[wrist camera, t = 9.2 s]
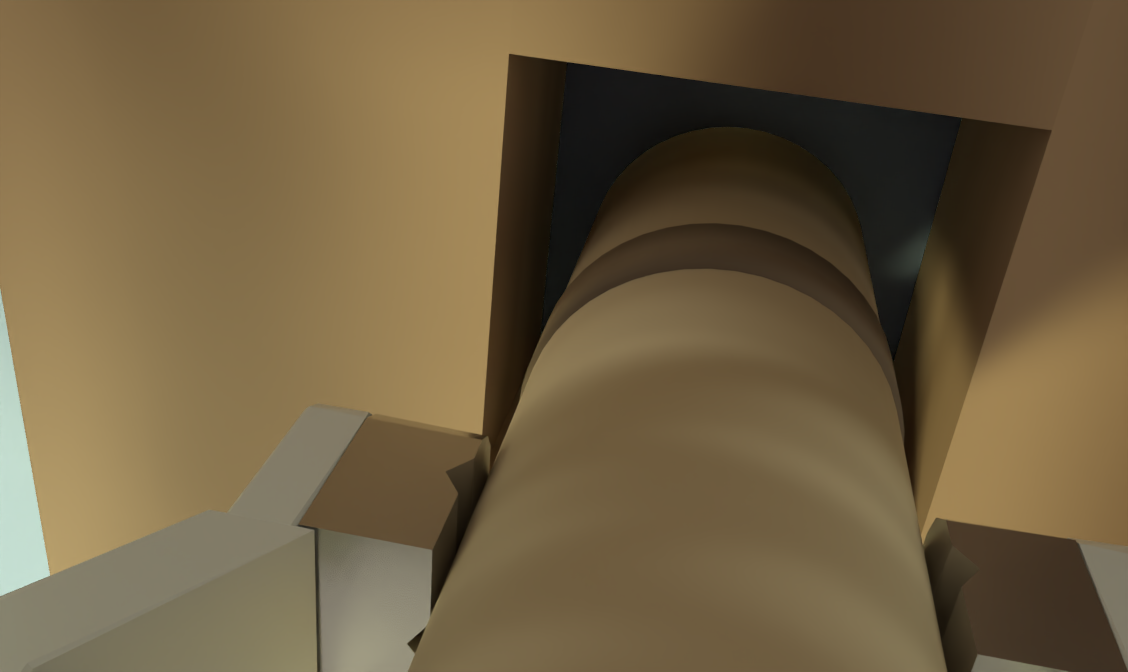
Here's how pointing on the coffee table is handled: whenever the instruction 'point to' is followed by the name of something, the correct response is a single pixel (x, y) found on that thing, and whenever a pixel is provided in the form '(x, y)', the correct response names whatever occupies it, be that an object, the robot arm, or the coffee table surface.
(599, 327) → the maple dowel
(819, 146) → the coffee table surface
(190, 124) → the walnut board
